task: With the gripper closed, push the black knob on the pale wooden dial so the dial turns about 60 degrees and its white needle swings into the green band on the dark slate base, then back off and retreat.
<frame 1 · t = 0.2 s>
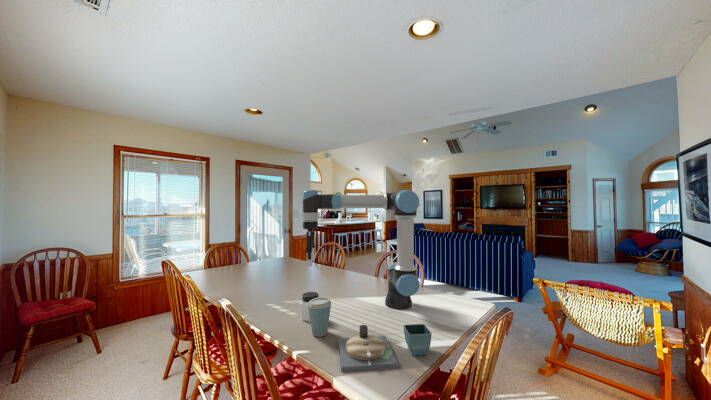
hand: (310, 263, 138), 28 cm above the table, fingers open, 13 cm apart
flower pot: (417, 352, 106), on the table
disposable coffee cup: (319, 333, 122), on the table
tuner base: (365, 353, 105), on the table
dial: (365, 342, 105), point 5 cm above the table, hinge at 0.0°
jar: (310, 318, 139), on the table
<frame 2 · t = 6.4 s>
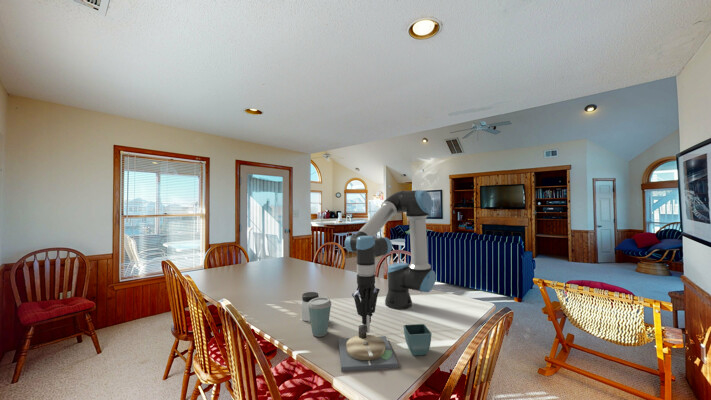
hand: (366, 331, 113), 5 cm above the table, fingers closed
dial: (366, 342, 105), point 5 cm above the table, hinge at 4.1°, touching gripper
everything else where it was.
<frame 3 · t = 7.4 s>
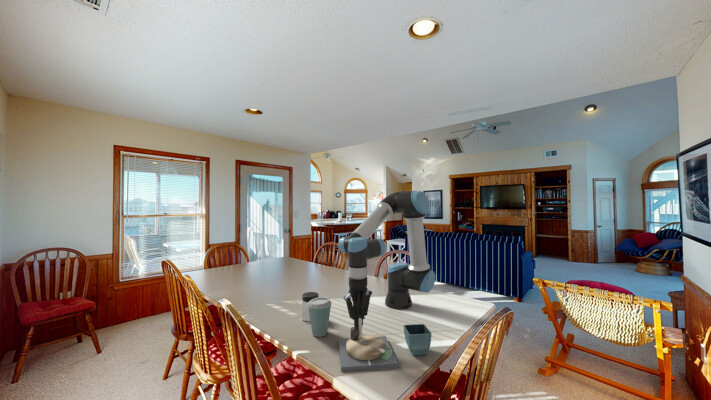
hand: (358, 334, 111), 5 cm above the table, fingers closed
dial: (367, 342, 105), point 5 cm above the table, hinge at 39.2°, touching gripper
everything else where it was.
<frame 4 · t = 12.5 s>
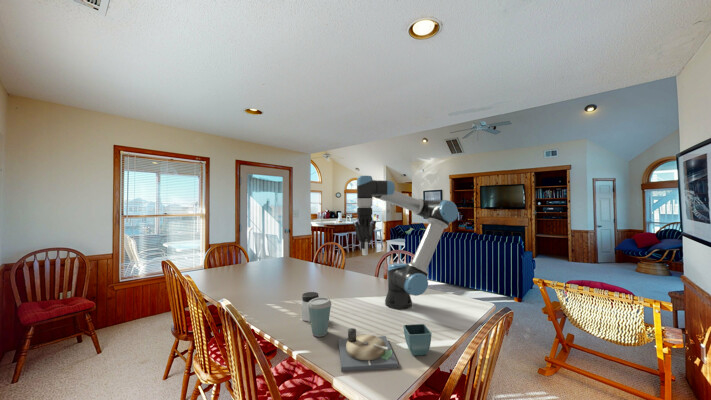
hand: (364, 255, 135), 32 cm above the table, fingers closed
dial: (367, 341, 105), point 5 cm above the table, hinge at 55.0°
everything else where it was.
at the end: dial at +55° (first picture: +0°); dial touching nothing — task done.
